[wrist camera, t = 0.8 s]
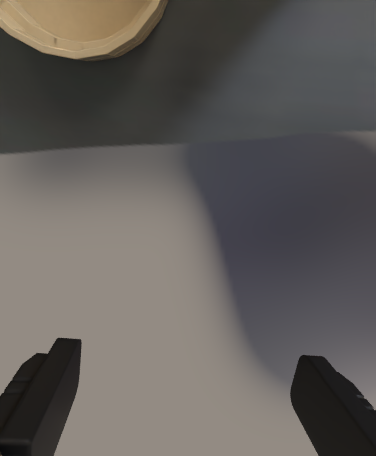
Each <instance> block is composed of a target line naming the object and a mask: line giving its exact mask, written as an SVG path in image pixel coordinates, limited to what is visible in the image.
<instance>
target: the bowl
mask: <svg viewBox="0 0 376 456" xmlns="http://www.w3.org/2000/svg"><path fill="white" fill-rule="evenodd" d="M167 3H168V0H0V27H1V28H2V29H3V30H4V31H5V32H6V33H8V34H9V35H11V36H12V37H14V38H16V39H18V40H20V41H22V42H23V43H25V44H27V45H29V46H31V47H33V48H34V49H36V50H38V51H40V52H42V53H46V54H51V55H56V56H61V57H66V58H71V59H77V60H84V61H99V60H105V59H111V58H117V57H120V56H121V55H123V54H125V53H126V52H128V51H130V50H131V49H133V48H134V47H136V46H138V45H139V44H141V43H142V42H143V41H144V40H145V39H146V37H147V36H148V35H149V34H150V32H151V31H152V30H153V29H154V27H155V26H156V25H157V23H158V22H159V21H160V20H161V18H162V15H163V13H164V10H165V8H166V5H167Z"/></svg>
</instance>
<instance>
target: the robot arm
mask: <svg viewBox="0 0 376 456" xmlns="http://www.w3.org/2000/svg"><path fill="white" fill-rule="evenodd" d="M80 357H81V339H69V338H57V339H56V341H55V343H54V344H53V346H52V348H51V350H50V351H49V353H48V354H44V353H36V354H35V355H34V356H32V358H30V359H29V360H27V361H26V362H25V363H23V364H22V365H21V367H20V368H19V370H18V371H17V373H16V374H15V376H14V377H13V380H12V381H11V382H10V383H9V384H8V386H7V387H6V389H5V391H4V393H2V394H1V396H0V456H54V453H55V450H56V448H57V445H58V442H59V439H60V437H61V434H62V431H63V429H64V426H65V423H66V420H67V417H68V415H69V412H70V409H71V407H72V404H73V401H74V399H75V395H76V392H77V388H78V382H79V374H80ZM290 394H291V395H290V396H291V402H292V406H293V408H294V410H295V412H296V414H297V416H298V418H299V420H300V422H301V423H302V425H303V427H304V429H305V431H306V433H307V435H308V437H309V438H310V440H311V442H312V444H313V446H314V448H315V450H316V452H317V453H318V455H319V456H376V410H374V409H373V406H372V405H371V404H370V403H369V402H368V401H367V400H366V399H364V396H363V395H362V394H361V392H360V391H359V390H358V389H357V388H356V387H355V385H354V384H353V383H352V382H350V381H349V380H348V379H346V378H345V377H344V376H343V375H341V374H340V373H339V372H336V370H335V369H334V368H333V367H332V366H331V364H330V363H329V362H328V361H327V360H326V359H325V358H324V357H322V356H307V355H302V356H301V357H300V358H299V361H298V364H297V368H296V372H295V375H294V379H293V383H292V386H291V393H290Z"/></svg>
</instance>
